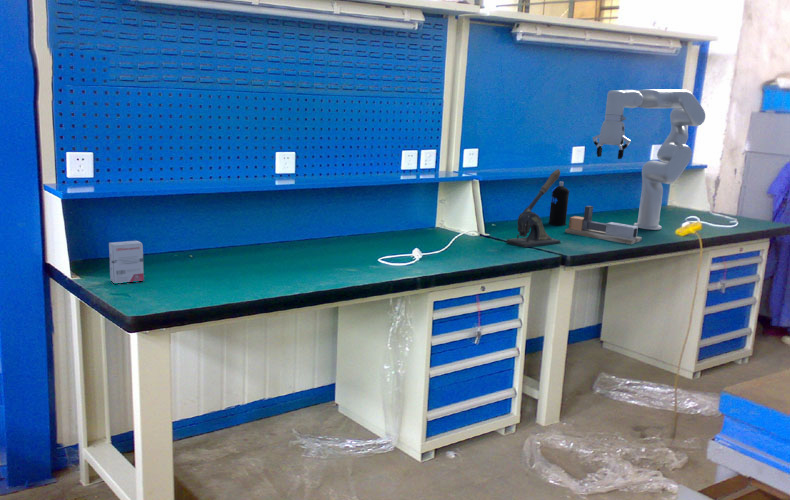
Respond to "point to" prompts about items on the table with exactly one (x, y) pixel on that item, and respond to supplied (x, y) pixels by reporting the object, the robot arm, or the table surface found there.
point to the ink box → (126, 261)
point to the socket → (576, 223)
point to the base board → (602, 236)
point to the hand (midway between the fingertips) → (609, 157)
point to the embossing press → (534, 221)
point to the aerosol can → (559, 205)
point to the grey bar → (588, 222)
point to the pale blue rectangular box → (621, 230)
